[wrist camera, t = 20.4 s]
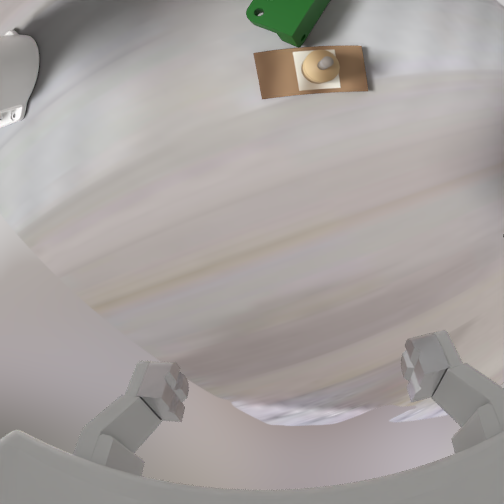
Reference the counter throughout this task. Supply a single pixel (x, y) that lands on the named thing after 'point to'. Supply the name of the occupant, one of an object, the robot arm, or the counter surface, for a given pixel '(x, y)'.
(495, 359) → the counter surface
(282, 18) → the clamp
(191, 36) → the counter surface
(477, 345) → the counter surface
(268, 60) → the bandage strip
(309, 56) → the awl
